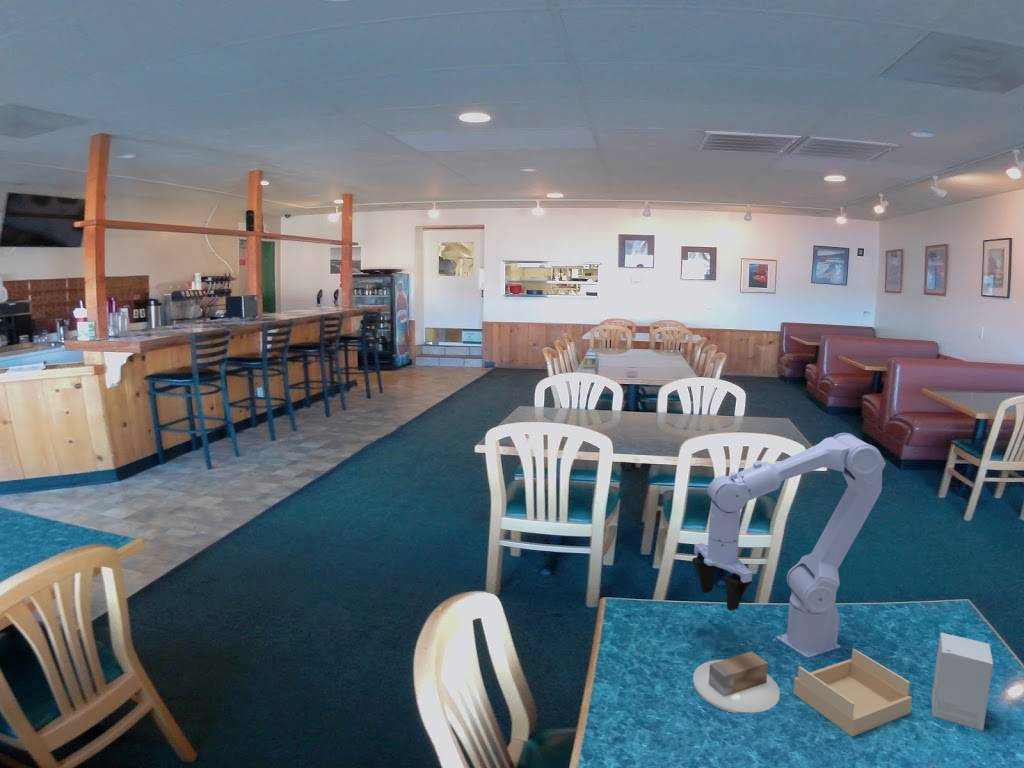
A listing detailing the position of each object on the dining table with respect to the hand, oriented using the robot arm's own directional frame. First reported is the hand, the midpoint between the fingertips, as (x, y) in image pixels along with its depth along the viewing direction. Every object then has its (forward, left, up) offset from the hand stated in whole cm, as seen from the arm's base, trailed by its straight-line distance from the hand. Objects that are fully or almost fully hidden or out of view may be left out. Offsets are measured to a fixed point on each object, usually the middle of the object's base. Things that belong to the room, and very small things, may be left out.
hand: (719, 600), depth 134 cm
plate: (+7, +13, -9) cm, 18 cm away
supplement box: (-23, +34, -10) cm, 42 cm away
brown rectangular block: (+7, +13, -9) cm, 17 cm away
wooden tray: (-8, +25, -9) cm, 28 cm away
